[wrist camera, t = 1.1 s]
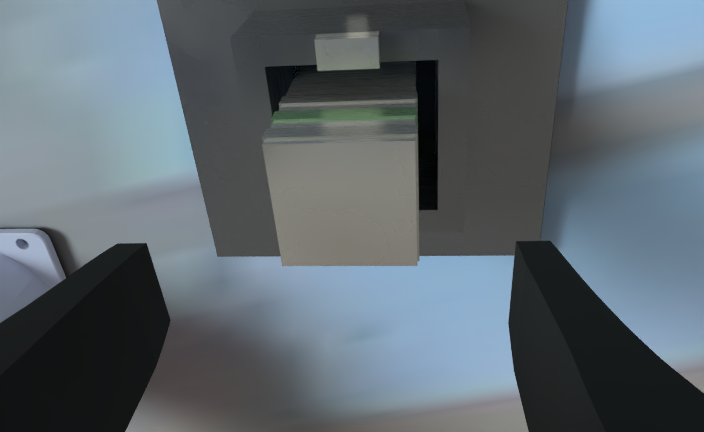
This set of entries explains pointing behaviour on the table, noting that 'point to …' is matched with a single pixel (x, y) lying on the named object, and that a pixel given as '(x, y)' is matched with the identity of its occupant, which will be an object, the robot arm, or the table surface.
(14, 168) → the table surface
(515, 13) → the stand base
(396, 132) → the column
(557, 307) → the robot arm
